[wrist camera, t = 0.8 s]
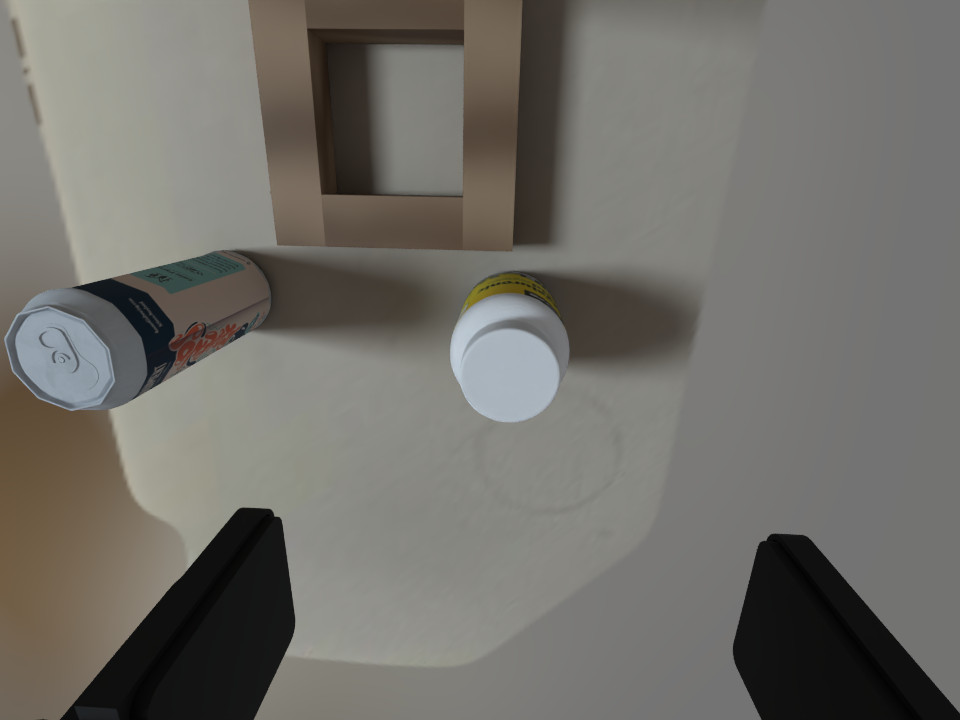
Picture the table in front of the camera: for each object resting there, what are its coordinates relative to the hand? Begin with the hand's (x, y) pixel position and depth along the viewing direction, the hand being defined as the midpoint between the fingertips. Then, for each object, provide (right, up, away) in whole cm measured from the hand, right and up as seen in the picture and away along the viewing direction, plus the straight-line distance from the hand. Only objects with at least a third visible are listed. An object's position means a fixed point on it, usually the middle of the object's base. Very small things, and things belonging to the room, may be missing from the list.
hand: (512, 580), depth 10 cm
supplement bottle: (+1, +7, +19) cm, 20 cm away
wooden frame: (-5, +17, +16) cm, 23 cm away
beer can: (-15, +8, +19) cm, 26 cm away
